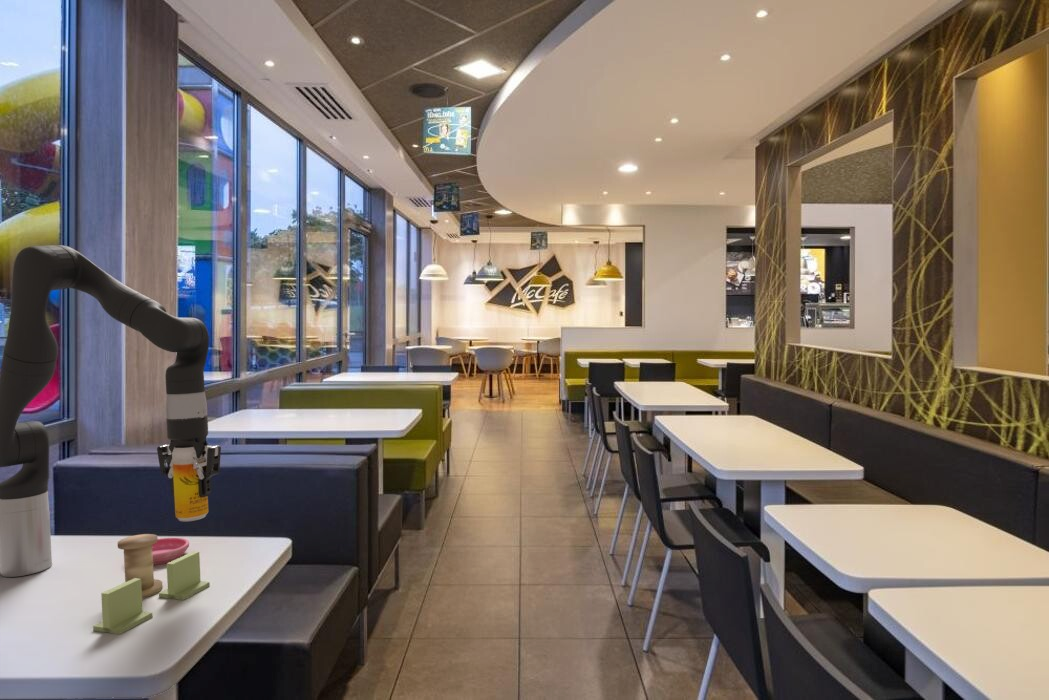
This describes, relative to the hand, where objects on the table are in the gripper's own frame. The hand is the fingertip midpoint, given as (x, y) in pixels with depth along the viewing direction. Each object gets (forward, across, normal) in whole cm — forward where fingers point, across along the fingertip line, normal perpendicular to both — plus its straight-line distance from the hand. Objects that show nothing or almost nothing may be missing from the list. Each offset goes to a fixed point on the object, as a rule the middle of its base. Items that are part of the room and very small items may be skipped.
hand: (191, 495), depth 134 cm
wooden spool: (+19, -10, -4) cm, 22 cm away
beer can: (+5, 0, 0) cm, 5 cm away
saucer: (+19, -22, +13) cm, 32 cm away
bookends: (+19, -1, -10) cm, 21 cm away
